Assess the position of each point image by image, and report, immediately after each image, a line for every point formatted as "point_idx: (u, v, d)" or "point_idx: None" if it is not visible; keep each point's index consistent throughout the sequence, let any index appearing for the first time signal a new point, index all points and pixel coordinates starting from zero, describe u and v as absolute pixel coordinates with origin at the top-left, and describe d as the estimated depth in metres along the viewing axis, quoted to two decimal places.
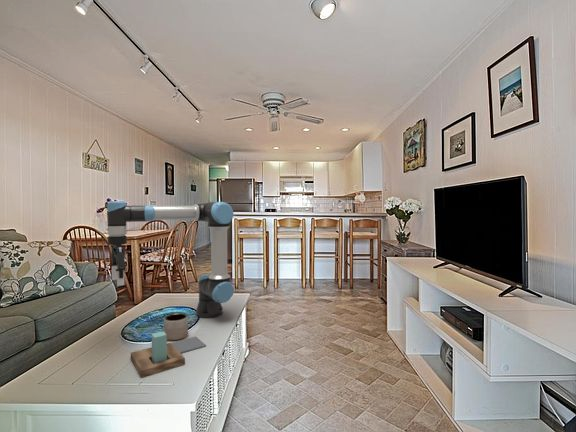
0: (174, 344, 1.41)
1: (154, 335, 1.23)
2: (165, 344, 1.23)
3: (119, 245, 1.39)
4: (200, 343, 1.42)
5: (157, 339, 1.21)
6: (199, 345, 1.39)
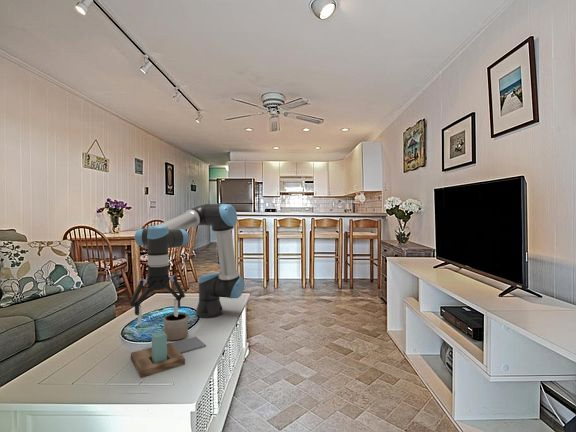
0: (174, 344, 1.41)
1: (154, 335, 1.23)
2: (165, 344, 1.23)
3: (148, 277, 1.20)
4: (200, 343, 1.42)
5: (157, 339, 1.21)
6: (199, 345, 1.39)
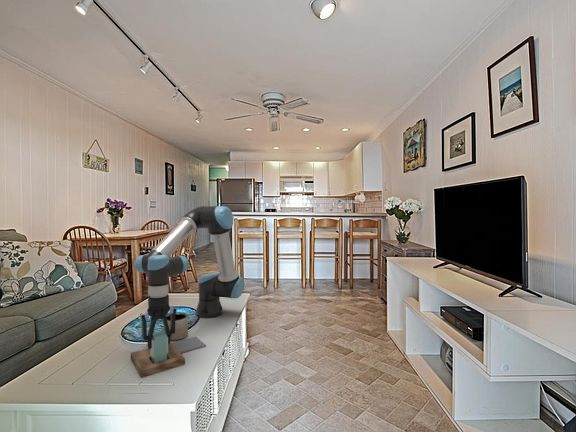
0: (174, 344, 1.41)
1: (154, 335, 1.23)
2: (165, 344, 1.23)
3: None
4: (200, 343, 1.42)
5: (157, 339, 1.21)
6: (199, 345, 1.39)
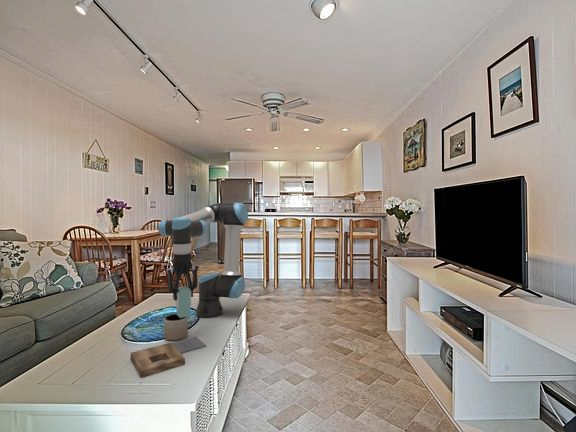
0: (174, 344, 1.41)
1: (179, 288, 1.36)
2: (189, 297, 1.37)
3: None
4: (200, 343, 1.42)
5: (182, 292, 1.35)
6: (199, 345, 1.39)
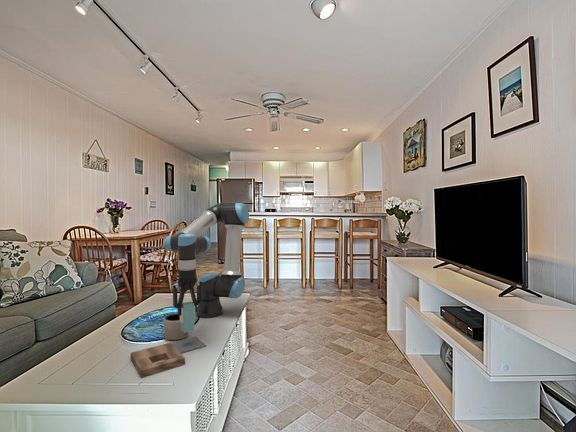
0: (174, 344, 1.41)
1: (183, 304, 1.39)
2: (193, 312, 1.40)
3: None
4: (200, 343, 1.42)
5: (186, 307, 1.38)
6: (199, 345, 1.39)
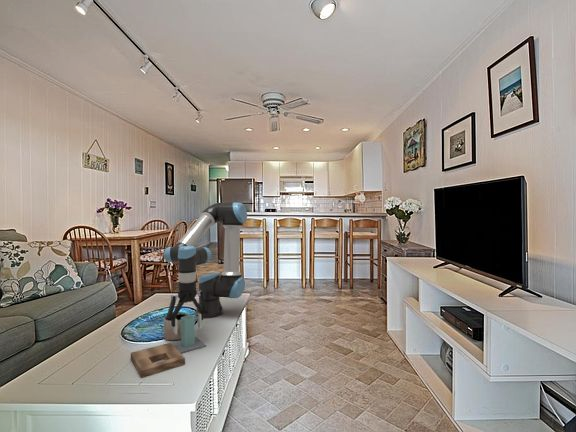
0: (174, 344, 1.41)
1: (183, 318, 1.40)
2: (193, 326, 1.40)
3: (178, 292, 1.38)
4: (200, 343, 1.42)
5: (187, 321, 1.38)
6: (199, 345, 1.39)
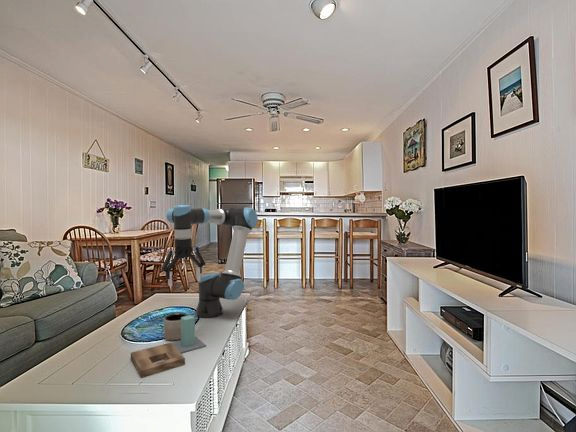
0: (174, 344, 1.41)
1: (183, 318, 1.40)
2: (193, 326, 1.40)
3: (175, 248, 1.44)
4: (200, 343, 1.42)
5: (187, 321, 1.38)
6: (199, 345, 1.39)
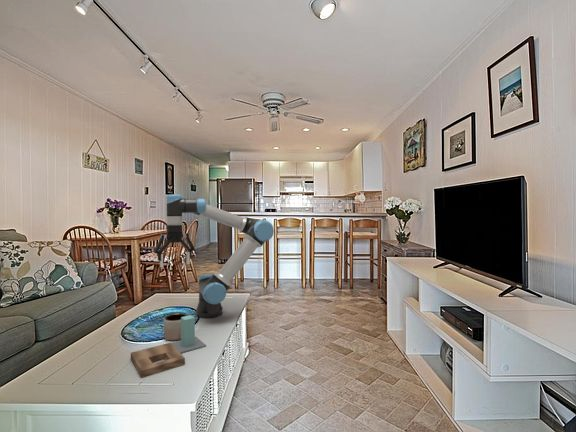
0: (174, 344, 1.41)
1: (183, 318, 1.40)
2: (193, 326, 1.40)
3: (167, 233, 1.60)
4: (200, 343, 1.42)
5: (187, 321, 1.38)
6: (199, 345, 1.39)
